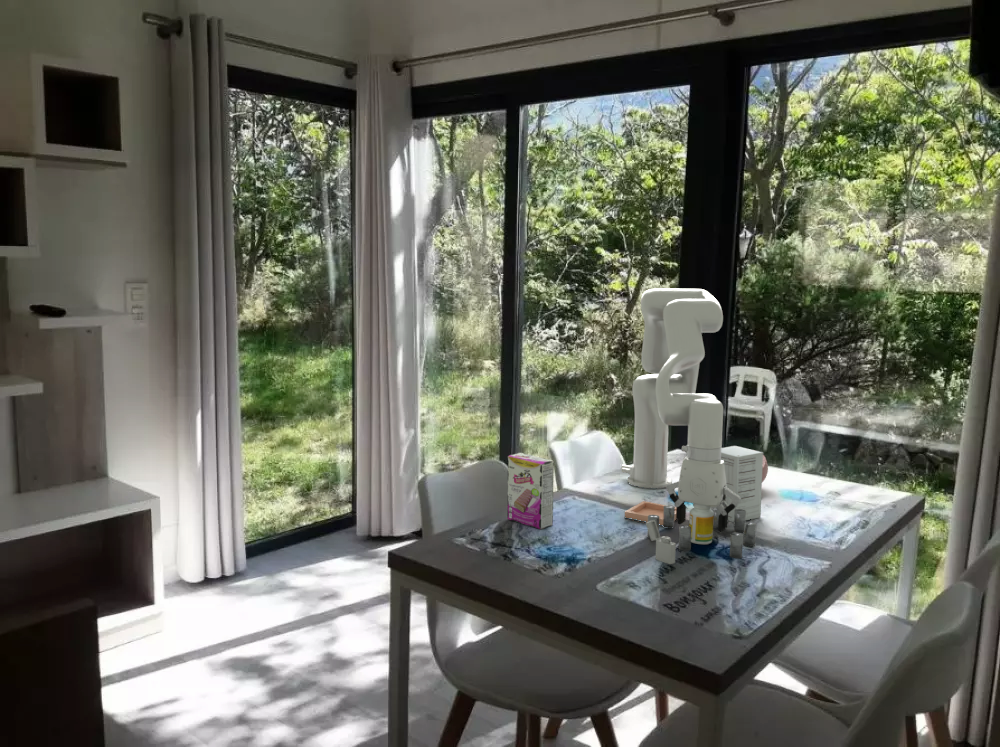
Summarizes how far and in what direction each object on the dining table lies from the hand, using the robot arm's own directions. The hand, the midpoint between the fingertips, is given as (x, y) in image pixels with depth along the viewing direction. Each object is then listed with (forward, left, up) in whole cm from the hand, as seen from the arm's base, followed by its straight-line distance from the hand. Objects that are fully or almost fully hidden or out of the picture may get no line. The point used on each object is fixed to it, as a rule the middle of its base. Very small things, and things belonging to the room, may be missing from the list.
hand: (701, 526), depth 189 cm
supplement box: (0, +23, -4) cm, 23 cm away
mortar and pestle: (-6, +49, -4) cm, 50 cm away
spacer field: (0, +3, -4) cm, 4 cm away
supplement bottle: (0, 0, -4) cm, 4 cm away
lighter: (-3, -16, -4) cm, 17 cm away
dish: (-16, +10, -4) cm, 19 cm away
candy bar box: (-39, -12, -4) cm, 41 cm away
